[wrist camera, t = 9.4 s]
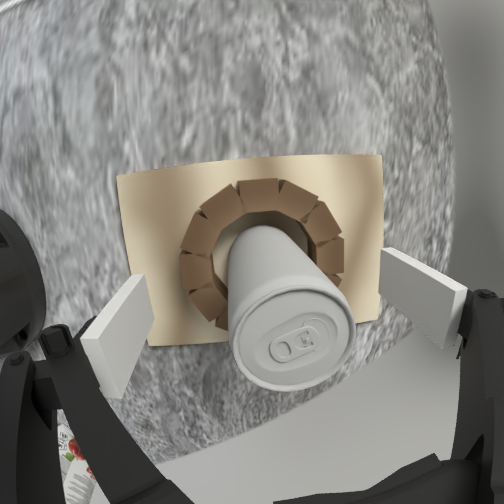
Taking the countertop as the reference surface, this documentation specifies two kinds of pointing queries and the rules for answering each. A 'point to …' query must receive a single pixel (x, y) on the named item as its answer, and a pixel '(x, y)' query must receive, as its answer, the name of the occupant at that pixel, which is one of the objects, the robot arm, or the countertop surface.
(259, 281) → the beverage can
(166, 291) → the collar board
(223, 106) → the countertop surface
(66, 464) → the juice carton
